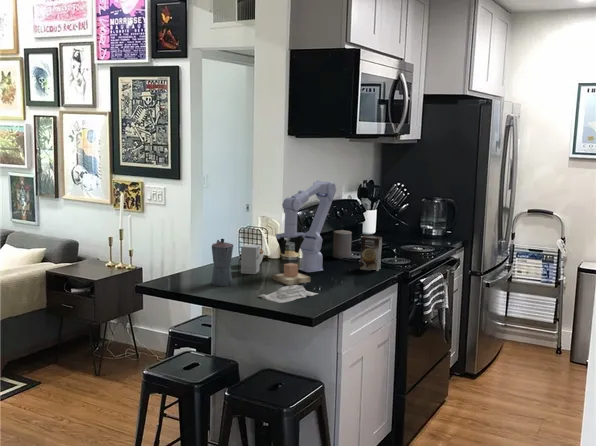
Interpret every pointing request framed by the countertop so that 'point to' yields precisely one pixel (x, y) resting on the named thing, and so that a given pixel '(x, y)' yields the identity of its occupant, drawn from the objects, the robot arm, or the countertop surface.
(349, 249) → the pillar candle
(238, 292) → the countertop surface
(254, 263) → the supplement box
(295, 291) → the terrain model
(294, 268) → the block
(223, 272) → the moka pot
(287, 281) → the base
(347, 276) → the countertop surface
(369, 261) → the coffee box
